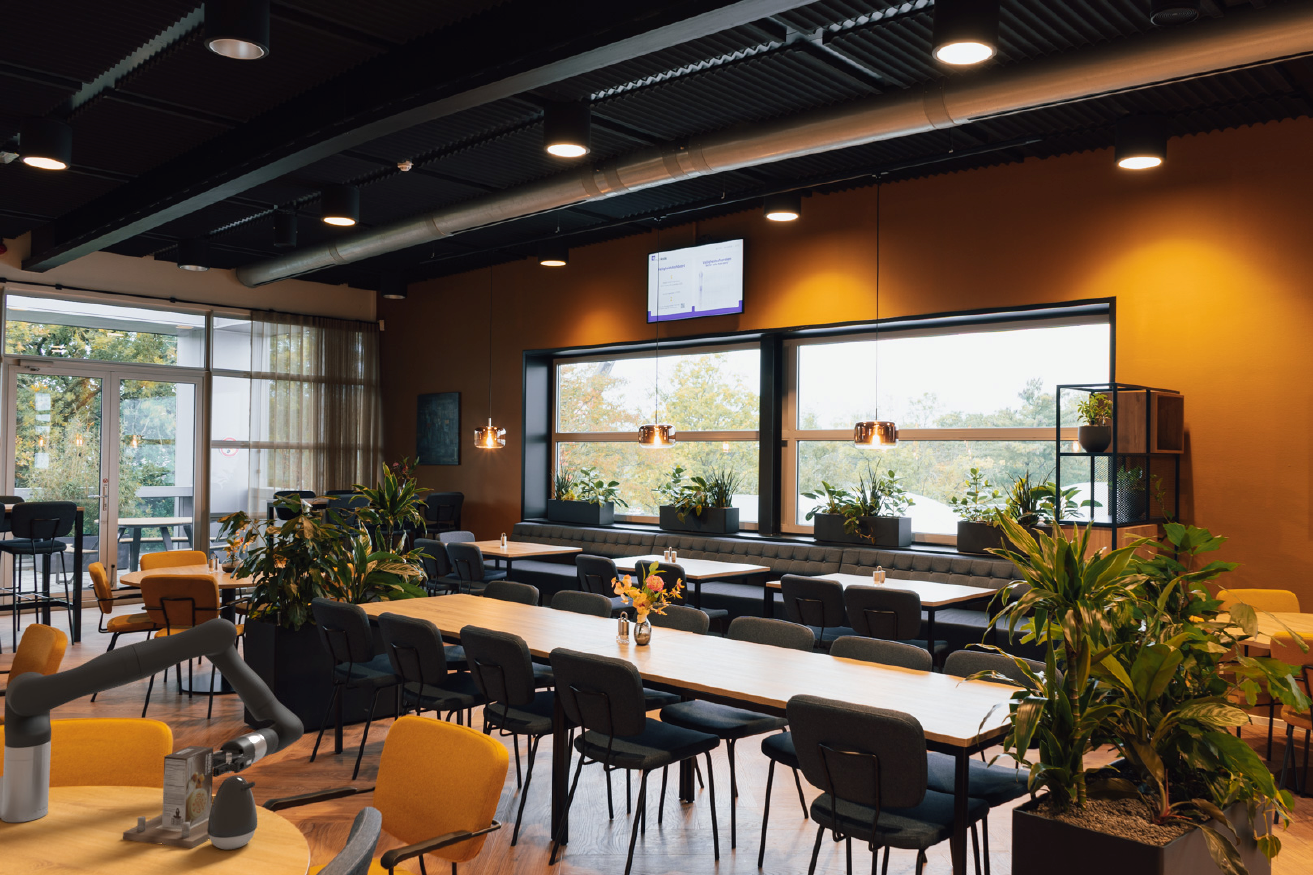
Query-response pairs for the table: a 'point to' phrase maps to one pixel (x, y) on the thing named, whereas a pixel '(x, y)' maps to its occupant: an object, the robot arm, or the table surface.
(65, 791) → the table surface
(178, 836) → the peg stand
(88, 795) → the table surface
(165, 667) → the robot arm
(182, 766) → the coffee box
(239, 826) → the pump dispenser
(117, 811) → the table surface
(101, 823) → the table surface
